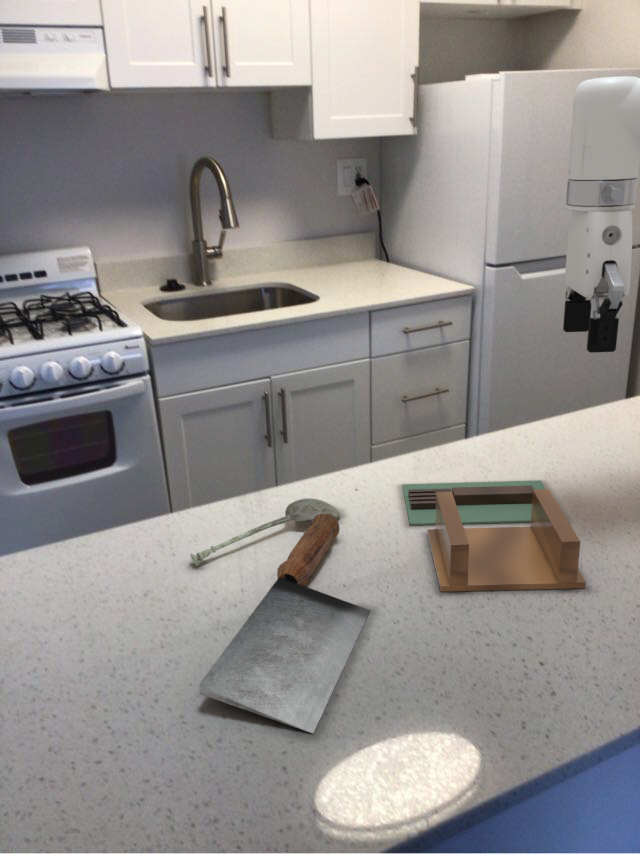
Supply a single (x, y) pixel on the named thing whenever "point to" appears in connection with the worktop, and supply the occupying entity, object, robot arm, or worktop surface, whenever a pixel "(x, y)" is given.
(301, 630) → the meat cleaver
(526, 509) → the mat
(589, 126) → the robot arm
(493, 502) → the fork
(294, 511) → the soupspoon
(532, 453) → the worktop surface
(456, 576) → the rack
